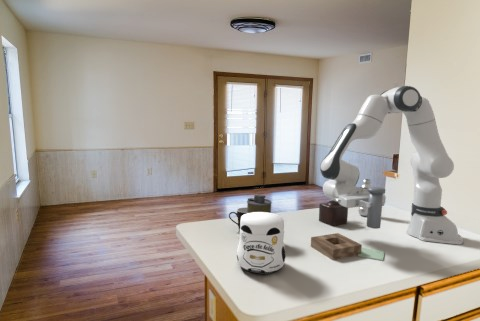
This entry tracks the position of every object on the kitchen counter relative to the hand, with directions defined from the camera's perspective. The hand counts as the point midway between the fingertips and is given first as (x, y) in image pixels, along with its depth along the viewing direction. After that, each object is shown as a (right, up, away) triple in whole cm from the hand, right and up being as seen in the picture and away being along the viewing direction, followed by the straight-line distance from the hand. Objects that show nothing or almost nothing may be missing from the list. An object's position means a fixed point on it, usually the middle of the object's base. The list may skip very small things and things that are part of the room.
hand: (376, 204), depth 131 cm
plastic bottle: (+15, -13, +55) cm, 59 cm away
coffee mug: (-51, -16, +28) cm, 61 cm away
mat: (-1, -20, +4) cm, 20 cm away
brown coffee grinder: (-6, -14, +45) cm, 48 cm away
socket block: (-14, -19, +7) cm, 25 cm away
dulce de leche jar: (-45, -21, -9) cm, 51 cm away
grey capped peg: (-1, -9, +2) cm, 9 cm away
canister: (-45, -18, +16) cm, 51 cm away
